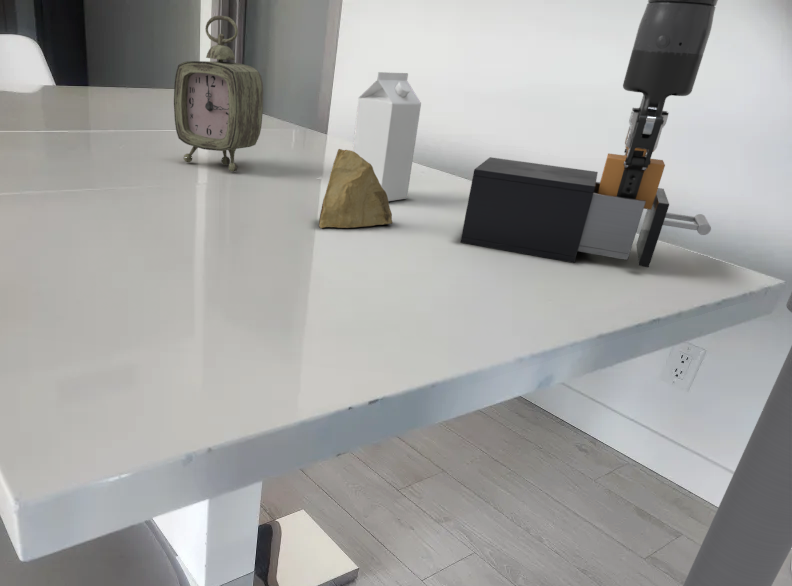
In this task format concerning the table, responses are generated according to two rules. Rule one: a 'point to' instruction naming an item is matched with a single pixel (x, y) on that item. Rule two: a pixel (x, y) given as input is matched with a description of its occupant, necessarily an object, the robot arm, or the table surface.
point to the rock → (354, 195)
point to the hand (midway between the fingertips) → (625, 196)
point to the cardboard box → (615, 172)
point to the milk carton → (388, 131)
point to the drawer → (630, 226)
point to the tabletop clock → (218, 101)
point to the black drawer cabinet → (528, 208)
